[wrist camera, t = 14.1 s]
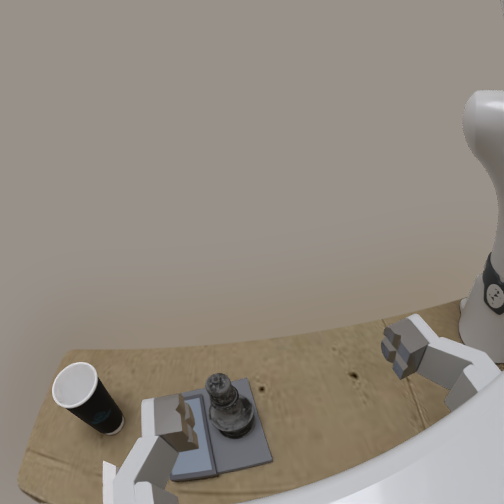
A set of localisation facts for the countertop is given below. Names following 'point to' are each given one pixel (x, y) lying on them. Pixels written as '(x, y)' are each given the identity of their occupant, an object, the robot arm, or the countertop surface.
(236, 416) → the stone finial ornament
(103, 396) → the dixie cup
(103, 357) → the countertop surface
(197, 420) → the phone
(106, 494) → the white angled block
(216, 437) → the mat
